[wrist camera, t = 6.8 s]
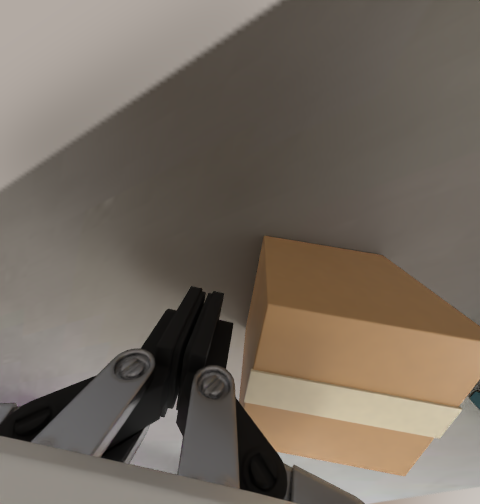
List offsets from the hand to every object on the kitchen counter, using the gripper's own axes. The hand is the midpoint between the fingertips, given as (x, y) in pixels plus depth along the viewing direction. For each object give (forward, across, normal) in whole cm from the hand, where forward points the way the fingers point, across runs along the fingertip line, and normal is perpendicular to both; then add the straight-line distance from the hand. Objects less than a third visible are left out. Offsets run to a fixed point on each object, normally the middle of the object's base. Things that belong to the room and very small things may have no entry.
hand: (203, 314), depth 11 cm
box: (+4, -6, 0) cm, 7 cm away
